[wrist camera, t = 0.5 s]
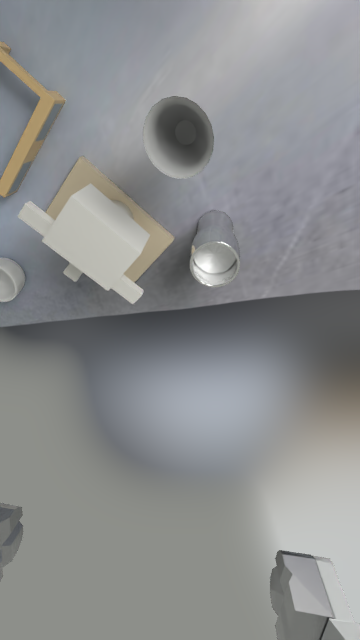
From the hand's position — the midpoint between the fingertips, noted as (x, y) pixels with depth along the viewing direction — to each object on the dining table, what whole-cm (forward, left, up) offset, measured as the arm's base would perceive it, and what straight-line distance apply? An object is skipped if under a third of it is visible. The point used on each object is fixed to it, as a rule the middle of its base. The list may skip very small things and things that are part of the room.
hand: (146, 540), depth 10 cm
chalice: (-5, -7, -50) cm, 50 cm away
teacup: (+36, -18, -50) cm, 64 cm away
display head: (+16, -8, -49) cm, 53 cm away
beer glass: (+3, +6, -50) cm, 50 cm away
